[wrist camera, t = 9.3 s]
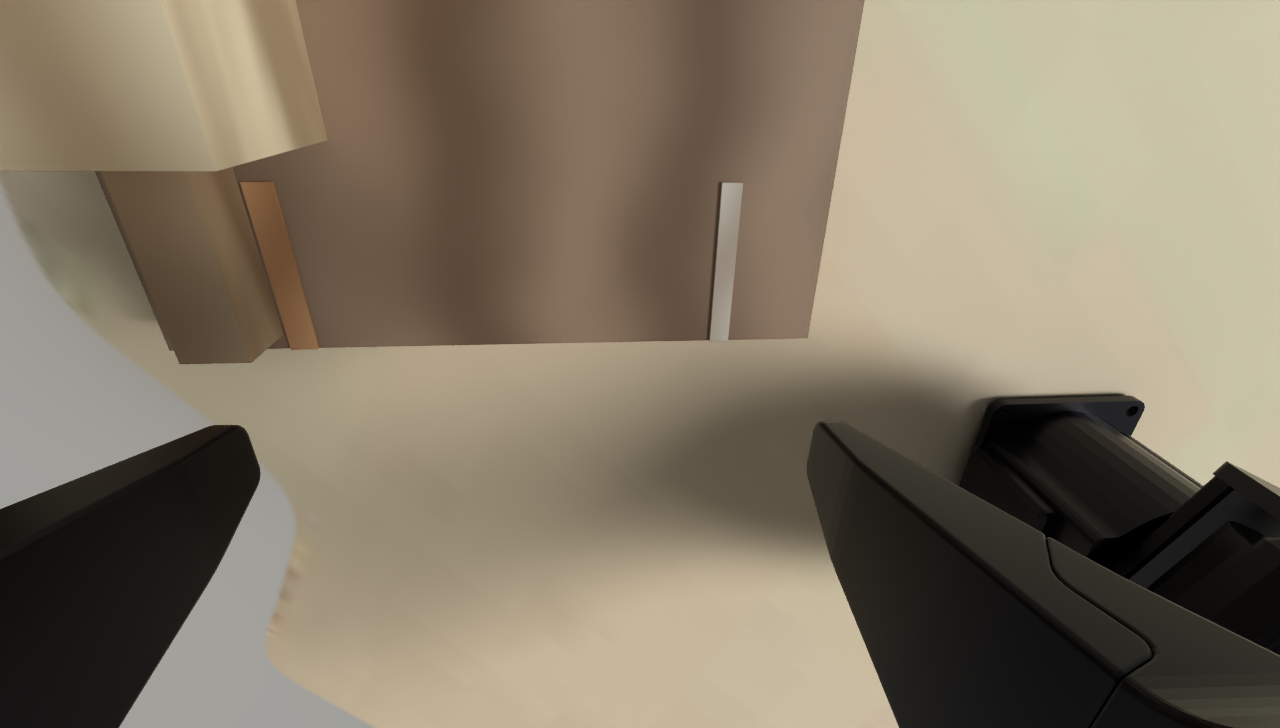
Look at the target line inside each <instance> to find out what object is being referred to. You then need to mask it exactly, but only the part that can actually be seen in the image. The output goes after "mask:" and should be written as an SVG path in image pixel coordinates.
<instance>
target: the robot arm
mask: <svg viewBox="0 0 1280 728" xmlns="http://www.w3.org/2000/svg"><path fill="white" fill-rule="evenodd" d="M1144 408H1145V406H1144V403H1143V402H1142V401H1140V400H1138V399H1137V398H1135V397H1133V396H1100V397H1064V398H1029V399H1001V400H996V401H995V402H993V403H991V404H990V405H989V406H988V408H987V410H986V412H985V415H984V418H983V421H982V424H981V427H980V429H979V432H978V435H977V438H976V441H975V443H974V446H973V449H972V452H971V455H970V458H969V460H968V463H967V466H966V469H965V472H964V474H963V477H962V480H961V483H960V486H957V485H955V484H954V483H952V482H950V481H948V480H946V479H945V478H943V477H941V476H939V475H937V474H936V473H934V472H932V471H930V470H928V469H927V468H925V467H923V466H921V465H919V464H918V463H916V462H914V461H912V460H911V459H909V458H907V457H905V456H903V455H902V454H900V453H898V452H896V451H894V450H893V449H891V448H889V447H887V446H885V445H884V444H882V443H880V442H878V441H877V440H875V439H873V438H871V437H869V436H868V435H866V434H864V433H862V432H860V431H859V430H857V429H855V428H853V427H851V426H850V425H848V424H846V423H844V422H840V421H822V422H819V423H817V424H816V426H815V428H814V431H813V436H812V441H811V446H810V451H809V456H808V462H807V475H808V479H809V483H810V487H811V490H812V494H813V498H814V501H815V505H816V508H817V512H818V516H819V519H820V523H821V527H822V530H823V534H824V537H825V541H826V545H827V548H828V551H829V554H830V558H831V560H832V563H833V566H834V568H835V571H836V574H837V576H838V579H839V581H840V583H841V586H842V588H843V591H844V593H845V596H846V598H847V601H848V603H849V606H850V608H851V611H852V613H853V615H854V618H855V620H856V623H857V625H858V628H859V630H860V633H861V635H862V638H863V640H864V642H865V645H866V647H867V650H868V652H869V655H870V657H871V660H872V662H873V665H874V667H875V669H876V672H877V674H878V677H879V679H880V682H881V684H882V687H883V689H884V692H885V694H886V696H887V699H888V701H889V704H890V706H891V709H892V711H893V714H894V716H895V719H896V721H897V723H898V726H899V728H1280V488H1278V487H1276V486H1274V485H1272V484H1270V483H1269V482H1267V481H1265V480H1263V479H1261V478H1259V477H1257V476H1255V475H1253V474H1251V473H1249V472H1247V471H1245V470H1243V469H1241V468H1239V467H1237V466H1235V465H1233V464H1231V463H1229V462H1227V461H1226V462H1225V463H1224V464H1223V465H1222V466H1221V467H1219V468H1218V469H1217V470H1216V471H1215V472H1214V473H1213V474H1214V475H1215V477H1214V478H1212V479H1211V480H1210V481H1209V482H1208V483H1207V484H1206V485H1204V486H1203V485H1201V484H1200V483H1198V482H1197V481H1195V480H1194V479H1192V478H1191V477H1189V476H1188V475H1186V474H1185V473H1184V472H1182V471H1181V470H1179V469H1178V468H1176V467H1175V466H1173V465H1172V464H1170V463H1169V462H1168V461H1166V460H1165V459H1163V458H1162V457H1160V456H1159V455H1157V454H1156V453H1154V452H1153V451H1151V450H1150V449H1149V448H1147V447H1146V446H1144V445H1143V444H1141V443H1140V442H1138V441H1137V440H1135V439H1134V438H1133V437H1131V435H1132V433H1133V431H1134V429H1135V427H1136V425H1137V423H1138V421H1139V419H1140V417H1141V415H1142V413H1143V411H1144ZM1002 411H1003V412H1002ZM1000 412H1002V413H1001V414H999V413H1000ZM259 480H260V467H259V464H258V461H257V458H256V455H255V452H254V450H253V447H252V444H251V441H250V438H249V435H248V433H247V431H246V430H245V429H244V428H243V427H241V426H239V425H213V426H209V427H206V428H204V429H201V430H199V431H196V432H194V433H191V434H189V435H186V436H184V437H181V438H179V439H176V440H174V441H171V442H169V443H166V444H164V445H161V446H159V447H156V448H153V449H151V450H148V451H146V452H143V453H141V454H138V455H136V456H133V457H131V458H128V459H126V460H123V461H121V462H118V463H116V464H113V465H111V466H108V467H106V468H103V469H101V470H98V471H95V472H93V473H90V474H88V475H86V476H83V477H80V478H78V479H75V480H73V481H70V482H68V483H66V484H63V485H60V486H58V487H55V488H53V489H50V490H48V491H45V492H43V493H40V494H38V495H35V496H32V497H30V498H28V499H25V500H22V501H20V502H17V503H15V504H12V505H10V506H7V507H5V508H2V509H0V728H119V727H120V725H121V723H122V722H123V720H124V719H125V717H126V715H127V714H128V712H129V710H130V709H131V707H132V706H133V704H134V702H135V701H136V699H137V698H138V696H139V694H140V693H141V691H142V690H143V688H144V686H145V685H146V683H147V681H148V680H149V678H150V677H151V675H152V673H153V672H154V670H155V668H156V667H157V665H158V664H159V662H160V661H161V659H162V657H163V656H164V654H165V653H166V651H167V649H168V648H169V646H170V644H171V643H172V641H173V639H174V638H175V636H176V635H177V633H178V631H179V630H180V628H181V627H182V625H183V623H184V622H185V620H186V619H187V617H188V615H189V614H190V612H191V611H192V609H193V607H194V606H195V604H196V602H197V601H198V599H199V598H200V596H201V595H202V593H203V591H204V590H205V588H206V586H207V585H208V583H209V581H210V580H211V578H212V576H213V574H214V573H215V571H216V569H217V567H218V566H219V564H220V562H221V560H222V558H223V556H224V554H225V552H226V550H227V548H228V546H229V544H230V542H231V540H232V538H233V536H234V534H235V531H236V529H237V527H238V525H239V523H240V521H241V518H242V517H243V515H244V513H245V511H246V509H247V507H248V505H249V503H250V501H251V499H252V496H253V495H254V492H255V490H256V488H257V486H258V484H259Z"/></svg>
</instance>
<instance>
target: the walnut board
mask: <svg viewBox="0 0 1280 728" xmlns="http://www.w3.org/2000/svg"><path fill="white" fill-rule="evenodd" d="M296 4H297V9H298V13H299V18H300V22H301V26H302V31H303V35H304V40H305V44H306V48H307V53H308V57H309V62H310V66H311V70H312V75H313V79H314V84H315V88H316V92H317V97H318V101H319V106H320V110H321V114H322V119H323V123H324V128H325V132H326V136H327V141H323V142H320V143H316V144H313V145H309V146H305V147H302V148H298V149H295V150H291V151H287V152H284V153H280V154H277V155H273V156H269V157H266V158H262V159H259V160H255V161H251V162H248V163H244V164H241V165H237V166H234V167H233V171H234V174H235V177H236V181H237V184H238V187H239V190H240V194H241V197H242V200H243V203H244V207H245V210H246V213H247V216H248V220H249V223H250V226H251V229H252V233H253V236H254V239H255V242H256V246H257V249H258V252H259V255H260V259H261V262H262V265H263V269H264V272H265V275H266V278H267V282H268V285H269V288H270V291H271V295H272V297H273V299H274V304H275V308H276V311H277V314H278V317H279V321H280V324H281V327H282V330H283V334H284V335H282V336H281V337H280V338H279V339H278V340H277V341H276V342H274V343H273V344H272V345H271V346H270V347H269V348H267V349H275V348H291V350H296V349H318V348H327V347H379V346H431V345H483V344H535V343H586V342H638V341H690V340H709V341H728V340H742V339H794V338H808V332H809V326H810V320H811V314H812V308H813V302H814V296H815V290H816V284H817V279H818V273H819V267H820V261H821V255H822V249H823V243H824V237H825V231H826V225H827V219H828V213H829V207H830V201H831V196H832V190H833V184H834V178H835V172H836V166H837V160H838V154H839V148H840V142H841V136H842V130H843V124H844V118H845V113H846V107H847V101H848V95H849V89H850V83H851V77H852V71H853V65H854V59H855V53H856V47H857V41H858V36H859V30H860V24H861V18H862V12H863V6H864V0H296ZM95 172H96V175H97V177H98V179H99V182H100V184H101V187H102V189H103V191H104V194H105V196H106V199H107V201H108V203H109V206H110V208H111V211H112V213H113V215H114V218H115V220H116V223H117V225H118V227H119V230H120V232H121V235H122V237H123V239H124V242H125V244H126V247H127V249H128V251H129V254H130V256H131V259H132V261H133V263H134V266H135V268H136V271H137V273H138V275H139V278H140V280H141V283H142V285H143V287H144V290H145V292H146V295H147V297H148V300H149V302H150V304H151V307H152V309H153V312H154V314H155V316H156V319H157V321H158V324H159V326H160V328H161V331H162V333H163V336H164V338H165V340H166V343H167V345H168V348H169V350H170V351H171V350H174V349H173V347H172V344H171V342H170V339H169V337H168V334H167V332H166V330H165V327H164V325H163V322H162V320H161V318H160V315H159V313H158V310H157V308H156V305H155V303H154V301H153V298H152V296H151V293H150V291H149V288H148V286H147V284H146V281H145V279H144V276H143V274H142V271H141V269H140V267H139V264H138V262H137V259H136V257H135V254H134V252H133V250H132V247H131V245H130V242H129V240H128V237H127V235H126V233H125V230H124V228H123V225H122V223H121V220H120V218H119V216H118V213H117V211H116V208H115V206H114V204H113V201H112V199H111V196H110V194H109V191H108V189H107V187H106V184H105V182H104V179H103V177H102V174H101V172H100V171H95Z"/></svg>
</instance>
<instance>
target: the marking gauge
mask: <svg viewBox="0 0 1280 728" xmlns="http://www.w3.org/2000/svg"><path fill="white" fill-rule="evenodd" d="M323 141H327V136H326V132H325V128H324V123H323V119H322V114H321V110H320V106H319V101H318V97H317V92H316V88H315V84H314V79H313V75H312V70H311V66H310V62H309V57H308V53H307V48H306V44H305V40H304V35H303V31H302V26H301V22H300V18H299V13H298V9H297V4H296V0H0V171H100V172H101V174H102V177H103V179H104V182H105V184H106V187H107V189H108V191H109V194H110V196H111V199H112V201H113V204H114V206H115V208H116V211H117V213H118V216H119V218H120V220H121V223H122V225H123V228H124V230H125V233H126V235H127V237H128V240H129V242H130V245H131V247H132V250H133V252H134V254H135V257H136V259H137V262H138V264H139V267H140V269H141V271H142V274H143V276H144V279H145V281H146V284H147V286H148V288H149V291H150V293H151V296H152V298H153V301H154V303H155V305H156V308H157V310H158V313H159V315H160V318H161V320H162V322H163V325H164V327H165V330H166V332H167V334H168V337H169V339H170V342H171V344H172V347H173V349H174V351H175V354H176V356H177V359H178V361H179V364H211V363H251V362H252V361H254V360H255V359H256V358H257V357H258V356H259V355H261V354H262V353H263V352H264V351H265V350H266V349H267V348H269V347H270V346H271V345H272V344H273V343H274V342H276V341H277V340H278V339H279V338H280V337H281V336H282V335H284V334H283V330H282V327H281V324H280V321H279V317H278V314H277V311H276V308H275V304H274V299H273V297H272V295H271V291H270V288H269V285H268V282H267V278H266V275H265V272H264V269H263V265H262V262H261V259H260V255H259V252H258V249H257V246H256V242H255V239H254V236H253V233H252V229H251V226H250V223H249V220H248V216H247V213H246V210H245V207H244V203H243V200H242V197H241V194H240V190H239V187H238V184H237V181H236V177H235V174H234V171H233V167H234V166H237V165H241V164H244V163H248V162H251V161H255V160H259V159H262V158H266V157H269V156H273V155H277V154H280V153H284V152H287V151H291V150H295V149H298V148H302V147H305V146H309V145H313V144H316V143H320V142H323Z"/></svg>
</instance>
